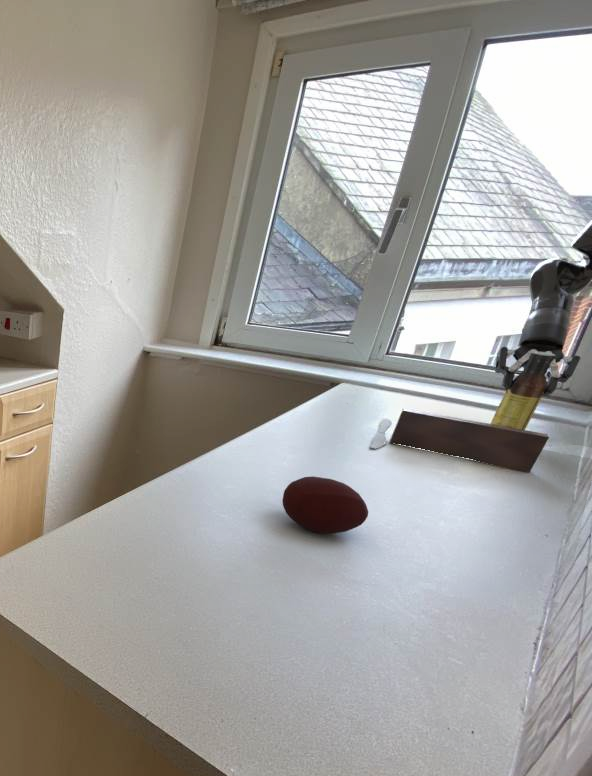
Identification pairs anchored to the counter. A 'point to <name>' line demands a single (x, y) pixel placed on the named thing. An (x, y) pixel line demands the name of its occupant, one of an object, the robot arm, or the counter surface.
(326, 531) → the potato
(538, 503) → the counter surface
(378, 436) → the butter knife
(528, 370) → the sauce bottle
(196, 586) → the counter surface
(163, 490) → the counter surface
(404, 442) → the backsplash board
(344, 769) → the counter surface
